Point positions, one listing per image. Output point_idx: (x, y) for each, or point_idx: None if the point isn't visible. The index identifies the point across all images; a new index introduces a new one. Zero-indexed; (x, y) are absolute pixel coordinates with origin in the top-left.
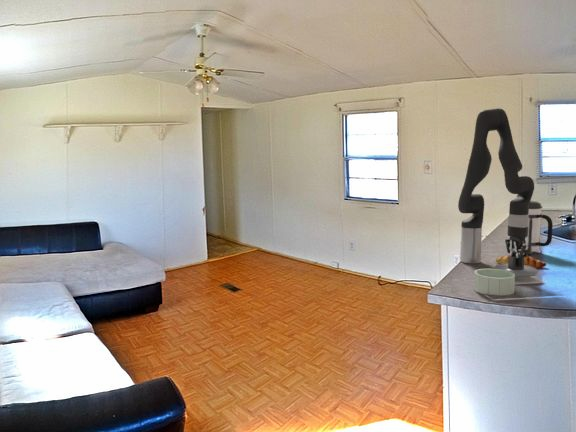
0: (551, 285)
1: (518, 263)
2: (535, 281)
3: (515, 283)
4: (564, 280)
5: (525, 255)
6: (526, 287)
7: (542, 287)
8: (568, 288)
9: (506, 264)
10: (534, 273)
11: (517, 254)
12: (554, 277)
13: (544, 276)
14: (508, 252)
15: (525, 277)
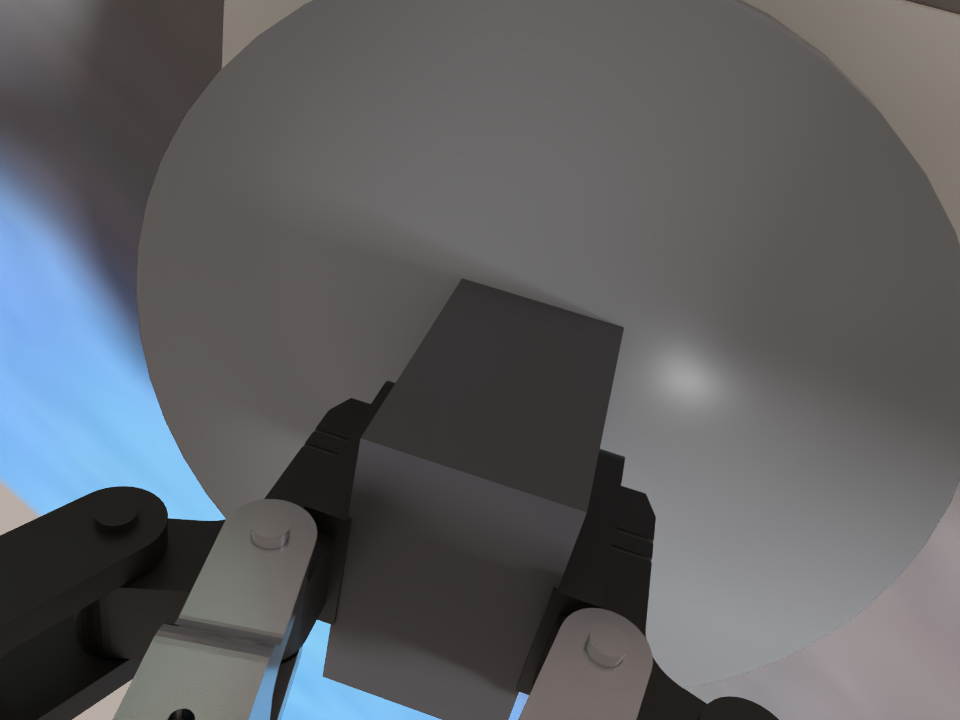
0: (156, 445)
1: (326, 431)
2: None
3: (256, 27)
4: (295, 688)
5: (58, 626)
6: (120, 82)
7: (94, 287)
8: (32, 485)
9: (865, 534)
10: (173, 424)
11: (220, 582)
12: (420, 717)
13: None
14: (728, 716)
15: None
